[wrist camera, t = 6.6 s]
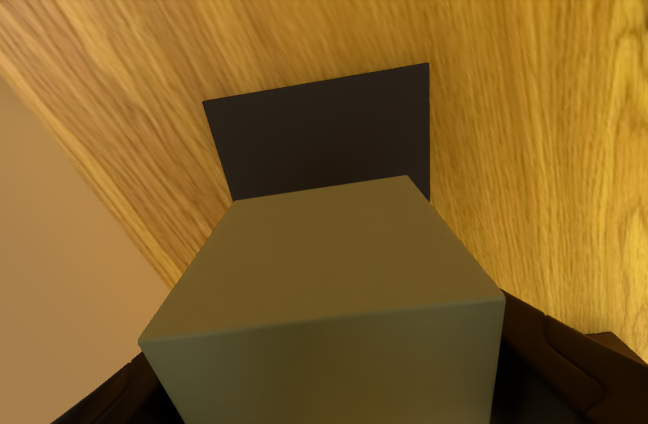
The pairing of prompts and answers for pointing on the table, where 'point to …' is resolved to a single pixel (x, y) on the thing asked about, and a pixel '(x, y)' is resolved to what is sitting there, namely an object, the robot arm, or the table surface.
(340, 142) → the mat
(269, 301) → the block
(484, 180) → the table surface
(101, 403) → the robot arm
